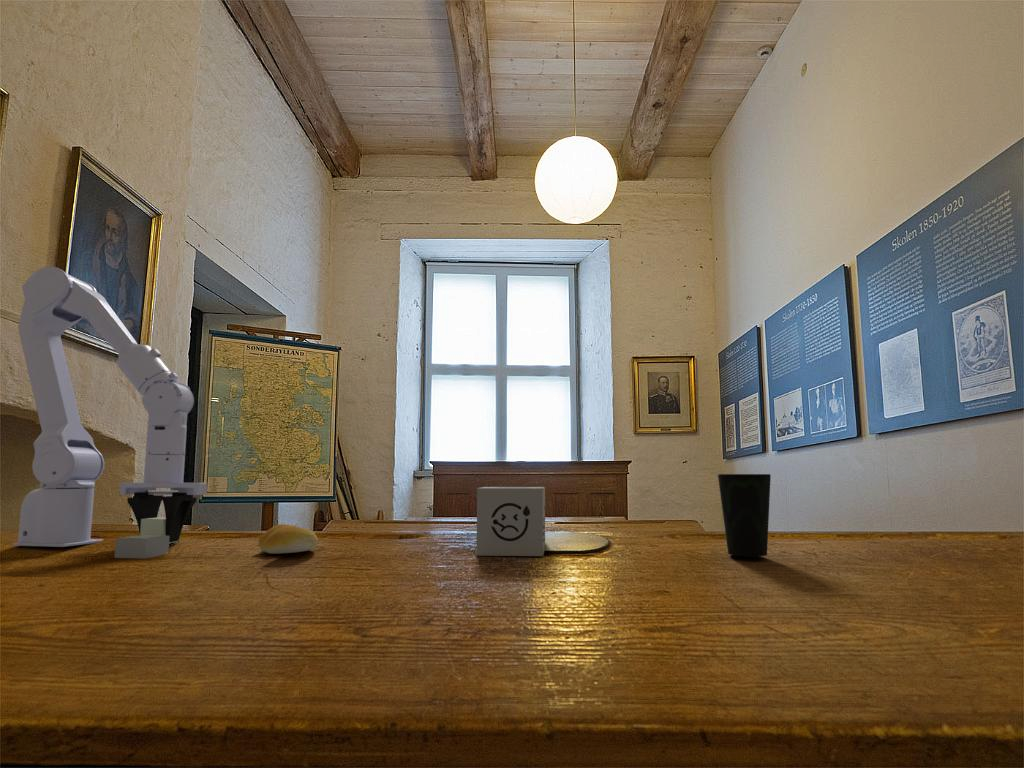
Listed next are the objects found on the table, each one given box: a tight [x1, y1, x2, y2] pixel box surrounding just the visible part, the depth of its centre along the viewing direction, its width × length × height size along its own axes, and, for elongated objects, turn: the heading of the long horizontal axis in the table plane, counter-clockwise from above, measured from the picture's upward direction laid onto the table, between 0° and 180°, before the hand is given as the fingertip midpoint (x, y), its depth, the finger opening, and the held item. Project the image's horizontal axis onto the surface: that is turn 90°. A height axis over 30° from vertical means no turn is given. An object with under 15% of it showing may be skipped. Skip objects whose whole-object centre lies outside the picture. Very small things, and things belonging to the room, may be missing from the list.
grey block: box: [114, 534, 170, 559], centre depth 101 cm, size 5×5×3 cm
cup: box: [717, 473, 772, 557], centre depth 104 cm, size 8×8×12 cm
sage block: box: [139, 516, 181, 544], centre depth 108 cm, size 4×4×5 cm
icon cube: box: [476, 486, 546, 557], centre depth 107 cm, size 10×10×10 cm
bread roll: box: [257, 523, 319, 555], centre depth 103 cm, size 8×9×4 cm
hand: (159, 541), depth 108 cm, fingers closed on sage block, 4 cm apart
